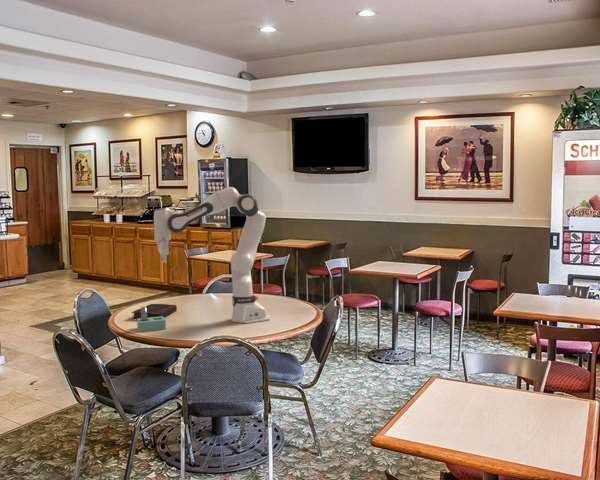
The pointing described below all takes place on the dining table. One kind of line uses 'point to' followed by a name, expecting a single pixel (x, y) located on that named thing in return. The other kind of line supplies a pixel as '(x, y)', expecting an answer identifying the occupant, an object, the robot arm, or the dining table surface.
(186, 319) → the dining table surface
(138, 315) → the diary
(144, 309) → the peg
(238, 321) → the robot arm
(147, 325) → the hole block
